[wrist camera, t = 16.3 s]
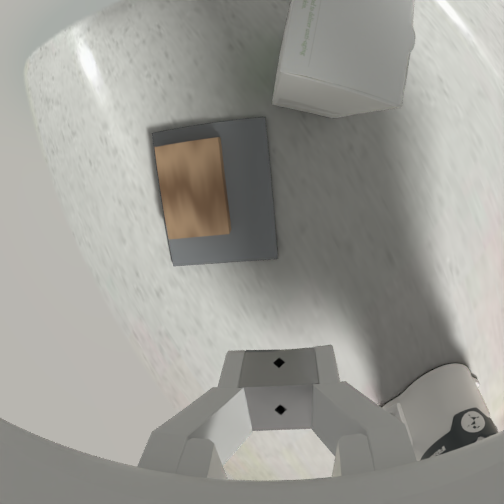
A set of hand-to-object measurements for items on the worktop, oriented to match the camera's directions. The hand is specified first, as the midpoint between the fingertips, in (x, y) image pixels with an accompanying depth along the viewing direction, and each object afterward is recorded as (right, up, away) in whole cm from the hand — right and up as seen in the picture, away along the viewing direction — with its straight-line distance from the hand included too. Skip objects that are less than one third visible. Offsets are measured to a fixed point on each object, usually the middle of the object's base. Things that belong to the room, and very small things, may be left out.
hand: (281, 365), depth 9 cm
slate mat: (-4, +9, +21) cm, 23 cm away
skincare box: (+5, +20, +17) cm, 26 cm away
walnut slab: (-3, +10, +19) cm, 22 cm away
